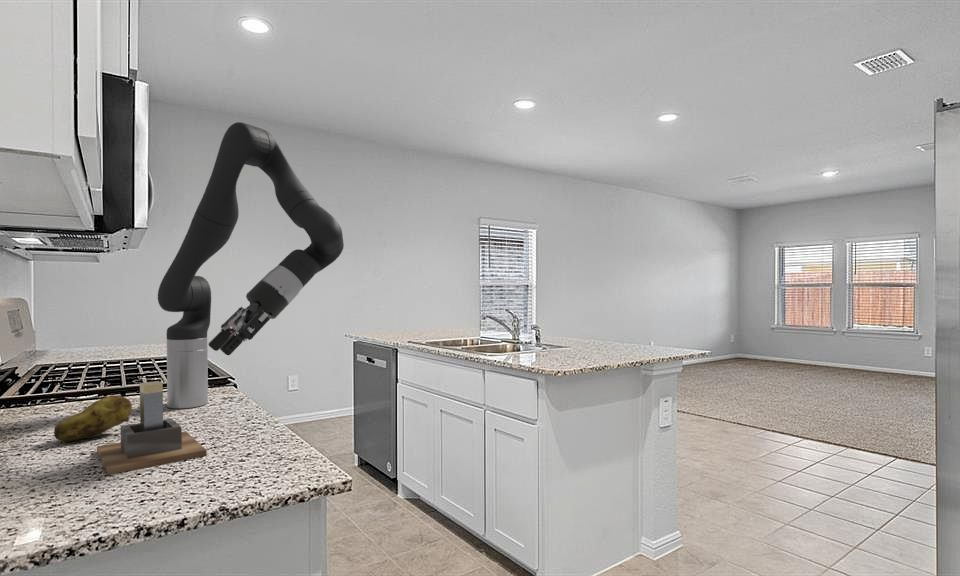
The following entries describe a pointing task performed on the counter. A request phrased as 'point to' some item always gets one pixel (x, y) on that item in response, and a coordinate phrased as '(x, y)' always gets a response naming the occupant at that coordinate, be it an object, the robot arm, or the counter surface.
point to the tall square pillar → (151, 406)
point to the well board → (149, 448)
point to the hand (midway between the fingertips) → (217, 350)
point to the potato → (94, 419)
